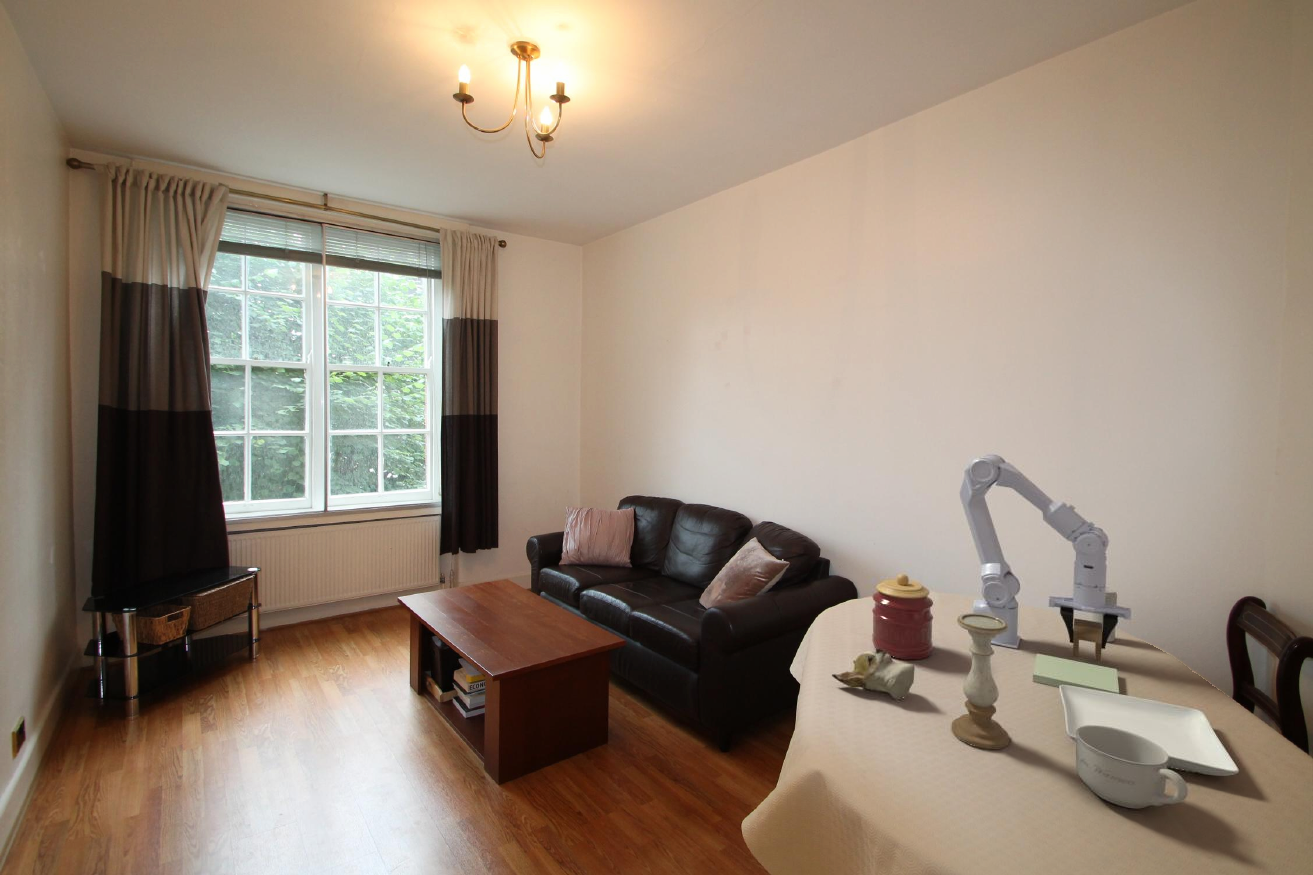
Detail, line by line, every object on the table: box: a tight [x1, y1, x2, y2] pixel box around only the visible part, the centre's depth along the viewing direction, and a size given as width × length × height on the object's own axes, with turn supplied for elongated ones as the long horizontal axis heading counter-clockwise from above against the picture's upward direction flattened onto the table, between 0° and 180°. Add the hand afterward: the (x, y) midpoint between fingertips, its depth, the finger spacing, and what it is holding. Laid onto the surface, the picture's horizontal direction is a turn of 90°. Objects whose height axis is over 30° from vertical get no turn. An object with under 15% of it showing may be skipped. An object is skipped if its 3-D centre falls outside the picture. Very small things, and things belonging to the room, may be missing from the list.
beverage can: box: [1090, 586, 1118, 643], centre depth 144 cm, size 5×5×12 cm
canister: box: [871, 573, 934, 660], centre depth 140 cm, size 13×13×18 cm
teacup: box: [1075, 725, 1189, 809], centre depth 87 cm, size 14×11×8 cm
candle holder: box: [950, 612, 1010, 750], centre depth 104 cm, size 9×9×20 cm
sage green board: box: [1032, 653, 1120, 694], centre depth 125 cm, size 14×12×2 cm
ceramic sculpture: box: [831, 649, 916, 700], centre depth 122 cm, size 11×9×15 cm
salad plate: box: [1058, 685, 1240, 777], centre depth 103 cm, size 21×21×3 cm
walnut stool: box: [1072, 617, 1103, 663], centre depth 133 cm, size 5×5×7 cm
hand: (1087, 644), depth 133 cm, fingers closed on walnut stool, 5 cm apart
